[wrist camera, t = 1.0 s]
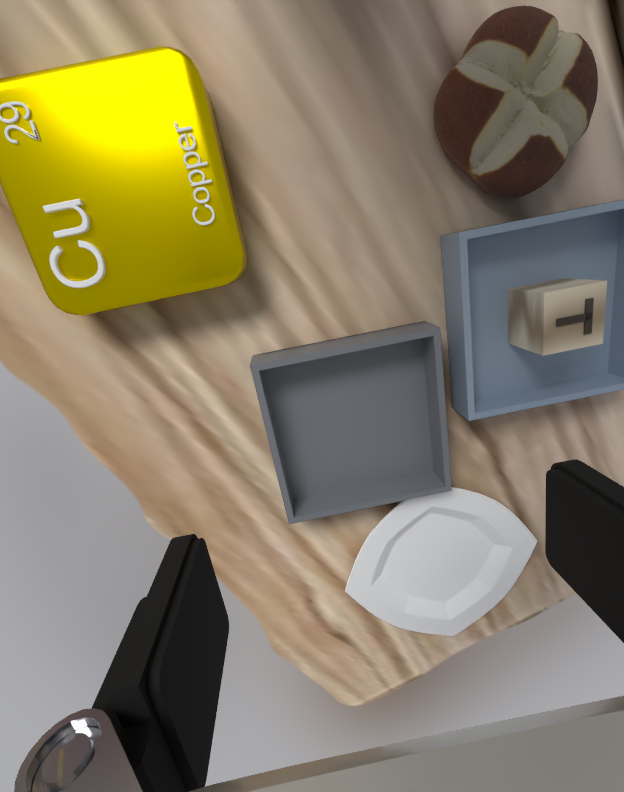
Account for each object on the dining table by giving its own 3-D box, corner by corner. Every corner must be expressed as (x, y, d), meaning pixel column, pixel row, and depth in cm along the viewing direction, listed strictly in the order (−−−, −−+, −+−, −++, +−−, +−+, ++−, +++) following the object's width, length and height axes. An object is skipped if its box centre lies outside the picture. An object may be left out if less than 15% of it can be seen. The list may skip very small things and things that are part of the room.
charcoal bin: (252, 355, 35) (249, 365, 32) (424, 321, 35) (440, 327, 32) (288, 502, 40) (289, 524, 37) (437, 471, 41) (451, 490, 37)
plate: (321, 584, 45) (322, 598, 43) (416, 453, 40) (423, 462, 38) (449, 637, 49) (456, 651, 47) (549, 524, 45) (560, 535, 43)
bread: (501, 222, 33) (538, 216, 29) (406, 124, 30) (429, 98, 26) (601, 104, 31) (658, 76, 26) (508, -15, 28) (554, -71, 23)
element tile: (253, 278, 33) (249, 280, 29) (82, 314, 33) (51, 322, 29) (204, 69, 28) (189, 33, 24) (2, 110, 28) (-50, 81, 24)
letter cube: (507, 289, 34) (545, 293, 30) (562, 278, 34) (608, 280, 30) (508, 344, 36) (544, 357, 31) (560, 334, 36) (603, 345, 31)
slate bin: (440, 235, 33) (458, 232, 30) (621, 200, 33) (660, 192, 30) (452, 406, 38) (468, 420, 35) (608, 375, 39) (640, 386, 35)
